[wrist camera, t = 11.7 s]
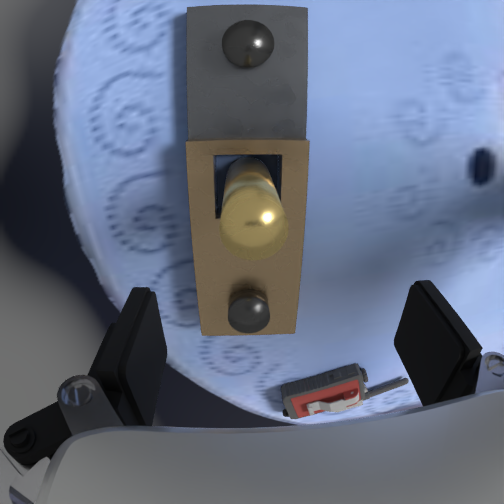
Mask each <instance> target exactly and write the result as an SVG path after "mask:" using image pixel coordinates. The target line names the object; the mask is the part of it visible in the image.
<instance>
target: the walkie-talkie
mask: <svg viewBox="0 0 504 504" xmlns="http://www.w3.org/2000/svg"><path fill="white" fill-rule="evenodd" d="M363 381H364V382H367V381H368V377H367V373H366V370H365V369H364V368H362V369H361V371H360V368H359V366H358V364H356V363H354V364H351V365H348V366H345V367H342V368H339V369H335V370H332V371H329V372H325V373H322V374H320V375H319V374H318V375H317V376H313V377H310V378H306V379H302V380H299V381H295V382H291V383H287V384H284V385H283V386H282V387H281V392H282V399H283V403H284V406H285V408H286V409H284V410H283V416H285V417H290V418H291V419H298V418H302V417H306V416H310V415H314V414H317V413H321V412H325V411H329V412H340V411H343V410H347V409H350V408H353V407H356V406H361V405H363V402H362V401H363V400H366V399H369V398H370V397H372V396H375V395H378V394H381V393H384V392H386V391H389V390H392V389H395V388H397V387H400V386H402V385H405V384H407V383H408V379H407V378H403V379H401V380H398V381H396V382H393V383H390V384H388V385H385V386H382V387H379V388H376V389H374V390H371V391H368V390H367V388H366V387H365V384H364V383H363Z"/></svg>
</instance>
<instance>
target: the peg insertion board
mask: <svg viewBox="0 0 504 504" xmlns="http://www.w3.org/2000/svg"><path fill="white" fill-rule="evenodd" d="M307 78H308V8H305V7H293V6H277V5H212V6H196V7H187V115H188V140H187V141H186V160H187V178H188V195H189V209H190V223H191V235H192V247H193V258H194V269H195V279H196V289H197V298H198V307H199V316H200V325H201V333H202V336H223V335H270V334H294V333H295V328H296V319H297V309H298V299H299V289H300V278H301V266H302V255H303V242H304V229H305V214H306V199H307V182H308V163H309V140H307V139H306V121H307ZM233 154H278V175H277V194H278V196H279V199H280V201H281V204H282V207H283V209H284V212H285V215H286V217H287V220H288V229H289V230H288V236H287V239H286V241H285V243H284V245H283V246H282V247H281V249H280V250H279V251H277V252H276V253H275V254H273V255H272V256H270V257H268V258H265V259H261V260H245V259H241V258H239V257H237V256H235V255H233V254H232V253H231V252H229V251H228V250H227V248H226V247H225V246H224V244H223V243H222V240H221V237H220V232H219V226H220V218H221V211H222V207H217V180H216V155H233Z"/></svg>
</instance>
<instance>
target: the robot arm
mask: <svg viewBox="0 0 504 504" xmlns="http://www.w3.org/2000/svg"><path fill="white" fill-rule="evenodd" d="M394 346H395V348H396V350H397V352H398V354H399V356H400V358H401V360H402V362H403V365H404V367H405V369H406V371H407V373H408V375H409V377H410V379H411V381H412V383H413V385H414V388H415V390H416V392H417V394H418V396H419V398H420V401H421V403H422V405H423V407H418V408H414V409H409V410H404V411H399V412H394V413H389V414H383V415H378V416H372V417H366V418H359V419H352V420H345V421H337V422H329V423H320V424H310V425H298V426H285V427H267V428H179V427H160V426H152V423H153V418H154V413H155V408H156V403H157V399H158V394H159V389H160V385H161V379H162V375H163V371H164V367H165V362H166V358H167V346H166V342H165V337H164V333H163V328H162V323H161V318H160V314H159V309H158V303H157V298H156V294H155V292H151V291H150V288H148V287H134V288H133V289H132V290H131V292H130V294H129V297H128V299H127V301H126V303H125V305H124V307H123V309H122V311H121V314H120V316H119V318H118V320H117V322H116V323H112V324H111V325H110V326H109V328H108V330H107V333H106V335H105V337H104V339H103V341H102V343H101V346H100V348H99V350H98V353H97V355H96V357H95V359H94V362H93V364H92V366H91V368H90V371H89V373H88V375H76V376H73V377H70V378H68V379H67V380H65V381H64V382H63V383H62V384H61V386H60V387H59V389H58V392H57V399H58V401H57V402H55V403H53V404H51V405H50V406H48V407H46V408H44V409H42V410H40V411H38V412H36V413H34V414H32V415H30V416H28V417H26V418H24V419H22V420H20V421H18V422H16V423H14V424H13V425H11V426H10V427H9V428H8V430H7V431H6V433H5V435H4V441H3V442H4V445H3V446H2V447H1V448H0V504H34V503H35V504H504V355H502V354H500V353H497V352H488V353H485V354H484V355H483V356H482V355H481V353H480V352H481V350H482V347H481V345H480V344H479V342H478V341H477V340H476V338H475V337H474V335H473V334H472V333H471V331H470V330H469V329H468V327H467V326H466V325H465V323H464V322H463V321H462V319H461V318H460V317H459V315H458V314H457V313H456V312H455V310H454V309H453V308H452V306H451V305H450V304H449V303H448V301H447V300H446V299H445V298H444V296H443V295H442V294H441V293H440V292H439V290H438V289H437V288H436V287H435V285H434V284H433V283H432V282H431V281H430V280H422V281H416V282H415V283H414V285H411V287H410V290H409V293H408V297H407V300H406V303H405V307H404V310H403V313H402V316H401V320H400V323H399V326H398V329H397V332H396V335H395V338H394ZM35 501H36V502H35Z"/></svg>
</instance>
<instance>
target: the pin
mask: <svg viewBox="0 0 504 504" xmlns="http://www.w3.org/2000/svg"><path fill="white" fill-rule="evenodd" d="M288 230H289V229H288V220H287V217H286V215H285V212H284V209H283V207H282V204H281V201H280V199H279V196H278V194H277V191H276V188H275V186H274V183H273V181H272V178H271V176H270V173H269V170H268V168H267V167H266V165H265V164H264V163H263V162H262V161H260V160H259V159H256V158H253V157H244V158H240V159H238V160H236V161H235V162H233V163H232V164H231V166H230V167H229V169H228V171H227V175H226V182H225V189H224V196H223V203H222V211H221V218H220V226H219V232H220V237H221V240H222V243H223V244H224V246H225V247H226V248H227V250H228V251H229V252H231V253H232V254H233V255H235V256H237V257H239V258H241V259H245V260H261V259H265V258H268V257H270V256H272V255H273V254H275V253H276V252H277V251H279V250H280V249H281V247H282V246H283V245H284V243H285V241H286V239H287V236H288Z"/></svg>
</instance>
